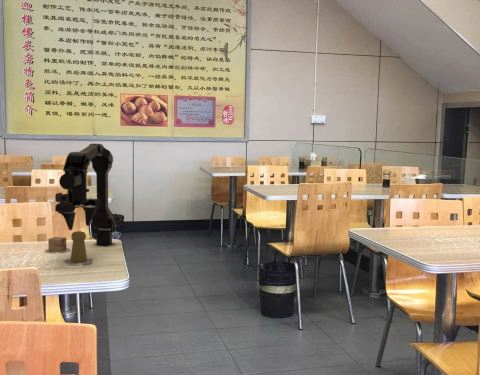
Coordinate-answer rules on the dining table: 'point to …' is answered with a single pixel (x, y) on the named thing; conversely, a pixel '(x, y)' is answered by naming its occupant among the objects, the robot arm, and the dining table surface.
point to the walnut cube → (57, 244)
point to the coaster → (58, 252)
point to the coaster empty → (89, 261)
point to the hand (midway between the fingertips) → (79, 227)
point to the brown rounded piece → (78, 247)
